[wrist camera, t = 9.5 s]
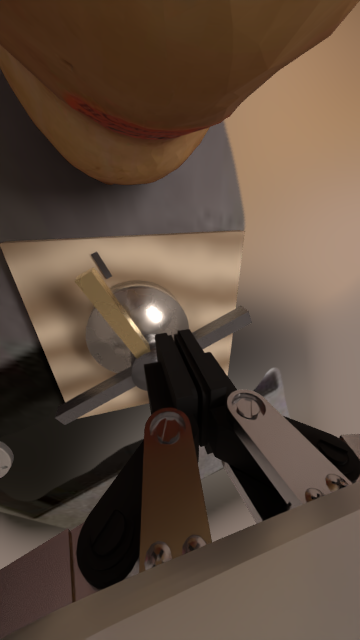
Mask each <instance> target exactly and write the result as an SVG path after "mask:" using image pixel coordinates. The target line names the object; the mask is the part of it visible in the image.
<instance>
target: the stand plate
mask: <svg viewBox="0 0 360 640" xmlns="http://www.w3.org/2000/svg"><path fill="white" fill-rule="evenodd" d="M244 234H245V231H240V230H235V231H214V232H193V233H173V234H152V235H131V236H110V237H89V238H68V239H47V240H27V241H6V242H3V243H0V247H1V249H2V252H3V254H4V256H5V259H6V261H7V264H8V266H9V268H10V271H11V273H12V276H13V278H14V280H15V283H16V285H17V288H18V290H19V292H20V295H21V297H22V300H23V302H24V304H25V307H26V309H27V312H28V314H29V316H30V319H31V321H32V324H33V326H34V328H35V331H36V333H37V336H38V338H39V340H40V343H41V345H42V348H43V350H44V352H45V355H46V357H47V360H48V362H49V364H50V367H51V369H52V372H53V374H54V376H55V379H56V381H57V384H58V386H59V389H60V391H61V393H62V396H63V398H64V401H65V402H67V401H69V400H70V399H72V398H74V397H76V396H78V395H79V394H81V393H83V392H85V391H87V390H89V389H90V388H92V387H94V386H96V385H98V384H99V383H101V382H103V381H105V380H107V379H109V378H110V377H112V376H114V375H116V374H117V373H114V372H112V371H110V370H108V369H106V368H104V367H103V366H101V365H100V364H99V363H98V362H97V361H96V360H95V359H94V358H93V356H92V355H91V353H90V352H89V349H88V347H87V343H86V335H85V334H86V326H87V323H88V319H89V316H90V313H91V310H92V308H93V304H92V303H91V301H90V300H89V299H88V298H87V296H86V295H85V294H84V293H83V292H82V290H81V289H80V288H79V287H78V285H77V284H76V283H75V282H74V280H75V279H76V278H77V276H78V275H80V274H82V273H84V272H85V271H87V270H89V269H91V268H93V267H94V268H95V269H96V271H97V272H98V273H99V275H100V276H101V277H102V279H103V280H104V282H105V283H106V284H107V286H108V287H109V288H111V287H113V286H115V285H117V284H120V283H123V282H127V281H134V280H141V281H149V282H153V283H156V284H158V285H160V286H162V287H164V288H166V289H167V290H168V291H169V292H171V293H172V294H173V295H174V297H175V298H176V299H177V301H178V302H179V304H180V306H181V307H182V309H183V310H184V312H185V314H186V316H187V319H188V323H189V329H190V331H191V332H194V331H196V330H198V329H199V328H201V327H203V326H205V325H207V324H209V323H210V322H212V321H214V320H216V319H218V318H219V317H221V316H223V315H225V314H227V313H229V312H230V311H232V310H234V309H236V301H237V293H238V284H239V275H240V267H241V259H242V250H243V241H244ZM232 335H233V333H232V334H230V335H228V336H226V337H225V338H223V339H221V340H219V341H217V342H215V343H214V344H212V345H210V346H208V347H206V348H205V349H203V351H204V353H206V352H211V353H212V355H213V356H214V357H215V359H216V360H217V362H218V363H219V365H220V366H221V367H222V369H223V370H224V372H225V373H226V375H227V376H228V367H229V359H230V351H231V343H232ZM147 403H149V398H148V392H147V391H145V390H142V389H140V388H138V387H137V386H135V387H134V388H132V389H130V390H128V391H126V392H124V393H123V394H121V395H119V396H117V397H115V398H113V399H112V400H110V401H108V402H106V403H104V404H103V405H101V406H99V407H97V408H95V409H93V410H92V411H90V412H88V413H86V414H84V415H83V416H81V417H79V418H82V417H87V416H92V415H96V414H101V413H105V412H110V411H115V410H119V409H124V408H129V407H133V406H138V405H142V404H147ZM77 419H78V418H77Z"/></svg>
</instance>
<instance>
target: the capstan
mask: <svg viewBox="0 0 360 640" xmlns="http://www.w3.org/2000/svg"><path fill="white" fill-rule="evenodd" d="M74 282H75V283H76V284H77V285H78V287H79V288H80V289H81V290H82V292H83V293H84V294H85V295H86V296H87V298H88V299H89V300H90V301H91V303H92V304H93V308H92V310H91V313H90V316H89V319H88V323H87V326H86V334H85V335H86V343H87V347H88V349H89V352H90V353H91V355H92V356H93V358H94V359H95V360H96V361H97V362H98V363H99V364H100V365H101V366H103V367H104V368H106V369H108V370H110V371H112V372H114V373H117V374H116V375H114V376H112V377H110V378H109V379H107V380H105V381H103V382H101V383H99V384H98V385H96V386H94V387H92V388H90V389H89V390H87V391H85V392H83V393H81V394H79V395H78V396H76V397H74V398H72V399H70V400H69V401H67V402H65V403H63V404H61V405H59V406H58V410H57V413H56V416H55V418H56V419H57V420H59V421H60V422H61V423H63V424H64V425H66V424H68V423H70V422H72V421H73V420H75V419H77V418H79V417H81V416H83V415H84V414H86V413H88V412H90V411H92V410H93V409H95V408H97V407H99V406H101V405H103V404H104V403H106V402H108V401H110V400H112V399H113V398H115V397H117V396H119V395H121V394H123V393H124V392H126V391H128V390H130V389H132V388H134V387H135V386H137V387H138V388H140V389H142V390H145V391H147V386H146V379H145V372H144V364H149V363H154V362H157V353H156V343H155V334H161V333H167V335H172V337H173V340H174V334H177V332H178V331H179V330H186V329H189V323H188V319H187V316H186V314H185V312H184V310H183V309H182V307H181V306H180V304H179V302H178V301H177V299H176V298H175V297H174V295H173V294H172V293H171V292H169V291H168V290H167V289H166V288H164V287H162V286H160V285H158V284H156V283H153V282H149V281H141V280H134V281H127V282H123V283H120V284H117V285H115V286H113V287H111V288H109V287H108V286H107V284H106V283H105V282H104V280H103V279H102V277H101V276H100V275H99V273H98V272H97V271H96V269H95V268H94V267H93V268H91V269H89V270H87V271H85V272H84V273H82V274H80V275H78V276H77V278H76V279H75V280H74ZM250 323H252V321H251V318H250V315H249V312H248V311H247V310H246V309H244V308H243V307H242V306H239V307H238V308H236V309H234V310H232V311H230V312H229V313H227V314H225V315H223V316H221V317H219V318H218V319H216V320H214V321H212V322H210V323H209V324H207V325H205V326H203V327H201V328H199V329H198V330H196V331H194V332H192V334H193V335H194V337H195V339H196V340H197V342H198V343H199V345H200V346H201V348H202V349H205V348H206V347H208V346H210V345H212V344H214V343H215V342H217V341H219V340H221V339H223V338H225V337H226V336H228V335H230V334H232V333H233V332H235V331H237V330H239V329H241V328H243V327H245V326H246V325H248V324H250Z"/></svg>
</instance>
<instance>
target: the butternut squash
mask: <svg viewBox="0 0 360 640" xmlns="http://www.w3.org/2000/svg"><path fill="white" fill-rule="evenodd" d="M359 1H360V0H0V68H1V70H2V72H3V74H4V76H5V78H6V80H7V81H8V83H9V85H10V87H11V88H12V90H13V92H14V93H15V95H16V97H17V98H18V100H19V101H20V103H21V104H22V106H23V107H24V109H25V110H26V112H27V113H28V115H29V116H30V118H31V119H32V121H33V122H34V123H35V125H36V126H37V127H38V129H39V130H40V131H41V132H42V133H43V134H44V135H45V136H46V138H47V139H48V140H49V141H50V142H51V143H52V145H53V146H54V147H55V148H56V149H57V151H58V152H59V153H60V154H61V155H62V156H63V157H64V158H65V159H66V160H67V161H68V162H69V163H70V164H72V165H73V166H74V167H75V168H77V169H79V170H80V171H82V172H84V173H85V174H87V175H88V176H90V177H92V178H94V179H97V180H99V181H101V182H103V183H105V184H108V185H112V184H119V185H135V184H147V183H151V182H155V181H157V180H159V179H161V178H163V177H165V176H166V175H168V174H169V173H171V172H172V171H174V170H176V169H177V168H179V167H180V166H181V165H182V164H183V163H184V162H185V161H186V159H187V158H188V157H189V156H190V155H191V154H192V152H193V151H194V150H195V148H196V147H197V146H198V145H199V144H200V143H201V141H202V139H203V137H204V136H205V134H206V132H207V131H208V129H209V128H210V126H213V125H216V124H219V123H221V122H222V121H223V120H224V119H226V118H228V117H229V116H230V115H231V114H232V113H233V112H234V111H235V109H236V108H237V107H238V106H239V105H240V104H241V103H242V102H243V101H244V100H245V99H246V98H247V97H248V96H249V95H251V94H252V93H253V92H254V91H255V90H256V89H258V88H259V87H260V86H261V85H262V84H264V83H265V82H266V81H267V80H268V79H269V78H270V77H271V76H273V75H274V74H275V73H276V72H277V71H279V70H280V69H281V68H283V67H284V66H286V65H288V64H289V63H290V62H292V61H293V60H295V59H296V58H298V57H299V56H301V55H302V54H304V53H305V52H307V51H308V50H309V49H311V48H313V47H314V46H316V45H317V44H319V43H320V42H322V41H323V40H325V39H326V38H327V37H329V36H330V35H331V34H332V33H333V32H334V31H335V29H336V28H337V27H338V26H339V24H340V23H341V22H342V21H343V20H344V19H345V17H346V16H347V15H348V14H349V13H350V12H351V10H352V9H353V8H354V7H355V6H356V4H357V3H358V2H359Z"/></svg>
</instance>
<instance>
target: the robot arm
mask: <svg viewBox="0 0 360 640" xmlns="http://www.w3.org/2000/svg"><path fill="white" fill-rule="evenodd" d="M155 343H156V353H157V362H154V363H149V364H144V372H145V379H146V386H147V392H148V398H149V404H150V410H151V416H150V417H149V419H148V420H147V422H146V425H145V430H144V440H143V442H142V443H141V444H140V446H139V447H138V449H137V450H136V451H135V453H134V454H133V455H132V457H131V458H130V459H129V461H128V462H127V464H126V465H125V466H124V468H123V469H122V470H121V472H120V473H119V474H118V476H117V477H116V479H115V480H114V481H113V483H112V484H111V485H110V487H109V488H108V489H107V491H106V492H105V494H104V495H103V496H102V498H101V499H100V500H99V502H98V503H97V504H96V506H95V507H94V508H93V510H92V511H91V513H90V514H89V516H88V517H87V519H86V521H85V522H84V523H82V524H81V525H79V526H77V527H76V528H74V529H73V530H71V531H70V530H69V529H66V530H64V531H63V532H61V533H60V534H58V535H56V536H55V537H53V538H51V539H50V540H48V541H46V542H45V543H43V544H42V545H40V546H38V547H37V548H35V549H33V550H32V551H30V552H29V553H27V554H25V555H24V556H22V557H21V558H19V559H17V560H16V561H14V562H12V563H11V564H9V565H8V566H6V567H4V568H2V569H1V570H0V640H360V434H351V435H341V436H340V438H337V437H336V436H333V435H331V434H329V433H326V432H324V431H321V430H318V429H316V428H313V427H311V426H308V425H306V424H303V423H300V422H298V421H295V420H292V419H290V418H287V417H285V416H282V415H281V414H280V413H279V412H278V411H277V410H276V409H275V408H274V407H273V406H272V405H271V404H270V403H269V402H268V401H267V400H266V399H265V398H264V397H262V396H261V395H260V394H258V393H256V392H254V391H250V390H237V389H236V388H235V386H234V385H233V383H232V382H231V380H230V379H229V378H228V376H227V375H226V373H225V372H224V370H223V369H222V367H221V366H220V365H219V363H218V362H217V360H216V359H215V357H214V356H213V355H212V353H211V352H206V353H204V351H203V349H202V348H201V346H200V345H199V343H198V342H197V340H196V339H195V337H194V335H193V334H192V332H191V331H190V329H186V330H179V331H178V332H177V334H174V340H173V337H172V335H167V333H161V334H155ZM199 445H200V447H202V446H205V449H206V452H207V454H210V453H213V454H214V456H215V457H217V458H218V459H220V460H221V461H222V464H223V466H224V468H225V470H226V472H227V473H228V475H229V477H230V479H231V480H232V482H233V484H234V486H235V487H236V489H237V491H238V492H239V494H240V496H241V498H242V499H243V501H244V503H245V504H246V506H247V508H248V510H249V511H250V513H251V515H252V516H253V518H254V520H255V522H256V523H257V524H255V525H253V526H250V527H248V528H245V529H243V530H241V531H238V532H236V533H234V534H231V535H229V536H226V537H224V538H222V539H219V540H217V541H215V542H212V540H211V534H210V529H209V523H208V517H207V512H206V506H205V501H204V496H203V490H202V485H201V479H200V474H199V468H198V458H199ZM12 462H13V453H12V451H11V449H10V448H9V447H8V446H7V445H6V444H4V443H3V442H1V441H0V478H1V477H2V476H4V475H5V474H6V473H7V472H8V470H9V469H10V467H11V465H12Z"/></svg>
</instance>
